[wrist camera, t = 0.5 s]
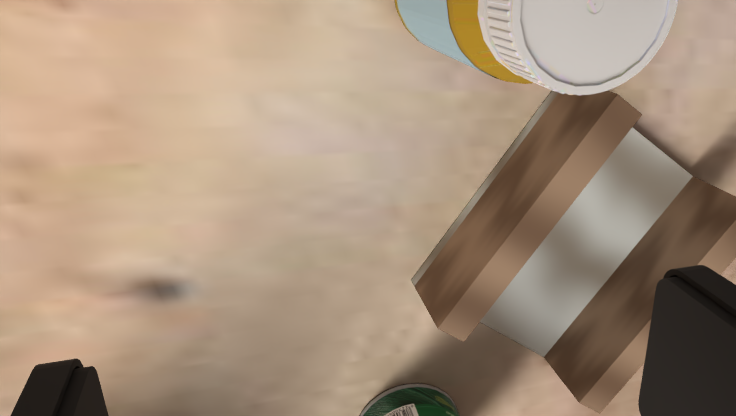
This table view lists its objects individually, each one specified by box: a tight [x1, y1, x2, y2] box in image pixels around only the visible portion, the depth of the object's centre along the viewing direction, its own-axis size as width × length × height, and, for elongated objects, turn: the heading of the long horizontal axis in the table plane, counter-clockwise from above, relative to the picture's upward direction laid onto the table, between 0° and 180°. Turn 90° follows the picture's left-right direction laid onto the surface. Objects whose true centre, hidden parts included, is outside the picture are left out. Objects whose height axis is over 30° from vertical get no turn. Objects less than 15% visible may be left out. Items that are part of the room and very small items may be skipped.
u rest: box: [411, 91, 736, 413], centre depth 39 cm, size 16×14×6 cm
